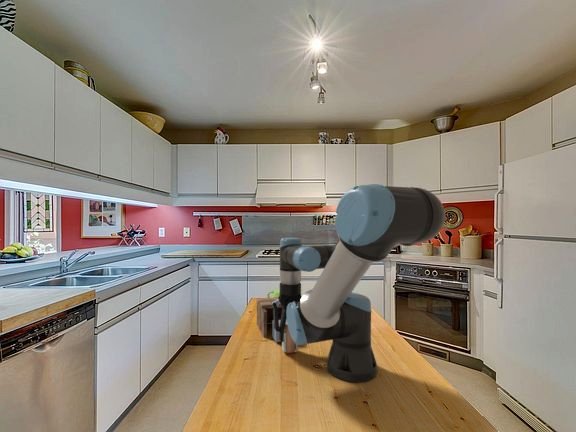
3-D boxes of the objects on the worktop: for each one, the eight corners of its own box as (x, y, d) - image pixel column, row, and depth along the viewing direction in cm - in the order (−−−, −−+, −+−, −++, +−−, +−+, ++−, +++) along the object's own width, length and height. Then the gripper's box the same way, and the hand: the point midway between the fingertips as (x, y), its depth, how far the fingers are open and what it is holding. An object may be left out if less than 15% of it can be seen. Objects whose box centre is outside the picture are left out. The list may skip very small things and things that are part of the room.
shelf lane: (294, 334, 116) (294, 306, 117) (263, 337, 113) (263, 308, 113) (283, 321, 131) (284, 296, 131) (256, 324, 127) (257, 298, 128)
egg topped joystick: (299, 351, 99) (300, 325, 99) (283, 353, 98) (283, 326, 98) (286, 334, 114) (287, 311, 115) (272, 335, 113) (272, 312, 113)
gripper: (308, 278, 107) (308, 342, 106) (264, 281, 102) (264, 347, 102) (316, 283, 99) (316, 351, 99) (269, 285, 95) (268, 357, 94)
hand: (289, 349), depth 100 cm, fingers closed on egg topped joystick, 4 cm apart
